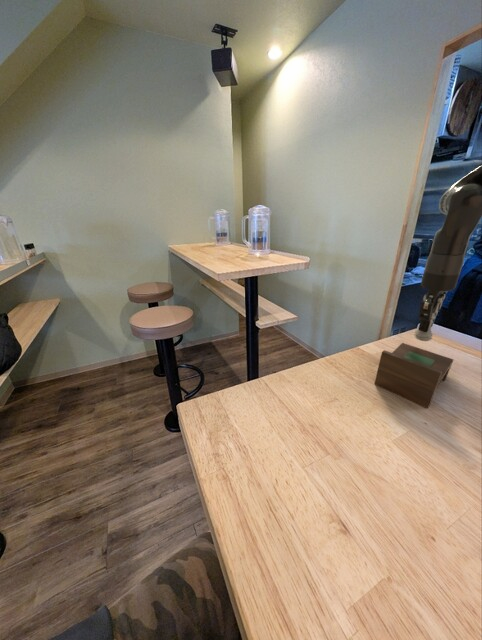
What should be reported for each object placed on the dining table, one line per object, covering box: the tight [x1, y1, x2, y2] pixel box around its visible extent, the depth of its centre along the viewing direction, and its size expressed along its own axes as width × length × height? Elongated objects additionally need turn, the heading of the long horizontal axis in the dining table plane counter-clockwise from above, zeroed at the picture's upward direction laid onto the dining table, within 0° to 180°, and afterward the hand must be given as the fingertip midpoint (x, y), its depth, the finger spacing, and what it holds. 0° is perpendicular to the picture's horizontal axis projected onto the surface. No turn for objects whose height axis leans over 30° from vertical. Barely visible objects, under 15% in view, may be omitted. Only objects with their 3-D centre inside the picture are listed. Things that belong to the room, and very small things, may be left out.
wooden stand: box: [374, 342, 455, 409], centre depth 65 cm, size 16×12×10 cm
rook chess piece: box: [413, 313, 437, 342], centre depth 73 cm, size 4×4×8 cm
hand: (425, 328), depth 73 cm, fingers closed on rook chess piece, 3 cm apart
